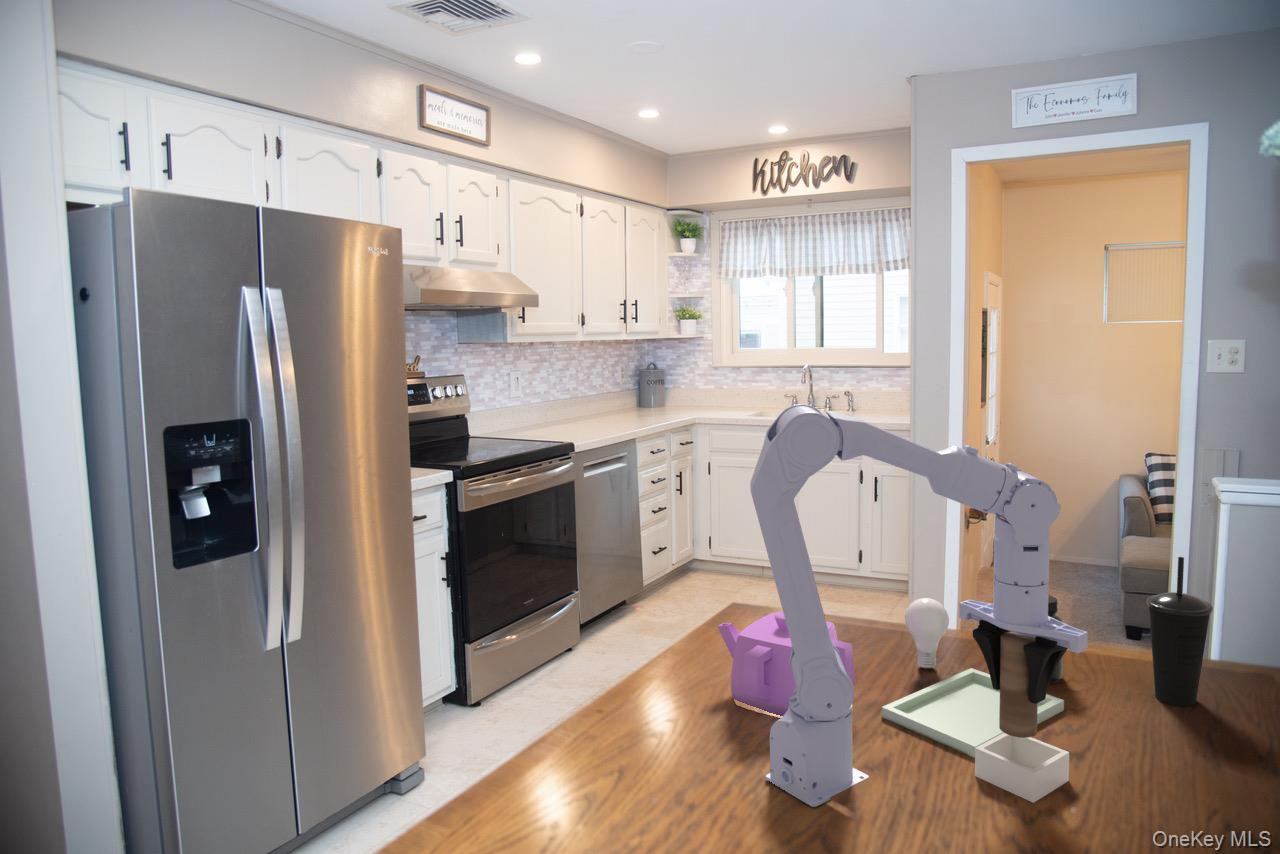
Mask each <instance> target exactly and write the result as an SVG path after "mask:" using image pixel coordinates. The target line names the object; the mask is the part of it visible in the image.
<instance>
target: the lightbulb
mask: <svg viewBox="0 0 1280 854" xmlns="http://www.w3.org/2000/svg"><path fill="white" fill-rule="evenodd" d="M904 613H905V614H904V623H905V625H906V628H907V630H908V632H909V633H910V634H911V636H912V638H913V639H914V640H913V641H914V645H915V647H916V649H917V651H916V652H917V655H916V656H917V662H916V664H917V665H918V666H919V667H920V668H922V669H924V670H930V669H933V668H935V667H936V666H937V665H936V664H937V663H936V662H937V660H936V656H937V655H936V654H937V649H938V648H939V642H940V640H941V639H942V637H944V635H945V634H946V632H947V630H948V628H949V624H950V617H949V613H948V611H947V609H946V608H945V606H944V605H943V604H942V603H941V602H940V601H938V600H937V599H934V598H930V597H922V598H921V597H920V598H917V599H915V600H913V601H912V602H910V604H909V605H908V606H907V608H906V610H905V612H904Z"/></svg>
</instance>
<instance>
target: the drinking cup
mask: <svg viewBox="0 0 1280 854" xmlns="http://www.w3.org/2000/svg"><path fill="white" fill-rule="evenodd" d="M1184 569H1185V557H1183V556H1178V557H1177V576H1176V577H1177V578H1176V579H1177V580H1176V582H1177V583H1176V591H1171V592H1170V591H1168V592H1163V593H1160V594H1159V593H1158V594H1155V595H1154V594H1153V595H1151V596H1148V597H1147V598H1146V605H1147V606H1148V609H1149V613H1148V614H1149V627H1150V640H1151V653H1152V655H1151V657H1152V668H1153V681H1154V682H1153V683H1154V686H1153V687H1154V695H1155V698H1156V699H1158V700H1159V701H1160V702H1162V703H1166V704H1169V705H1172V706H1179V707H1191V706H1194V705H1196V703H1197V697H1198V692H1199V686H1200V680H1201V679H1200V678H1201V673H1202V667H1203V660H1204V654H1205V653H1204V652H1205V648H1206V647H1205V646H1206V642H1207V641H1206V640H1207V635H1208V627H1209V622H1210V615H1211V614H1212V613H1213V611H1214V607H1213V605H1212V604H1211V603H1209V602H1208V601H1205V600H1203V599H1201V598H1199V597H1197V596H1195V595H1192V594H1189V593H1186V592H1185V593H1184V592H1183V591H1184Z"/></svg>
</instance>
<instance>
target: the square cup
mask: <svg viewBox="0 0 1280 854" xmlns="http://www.w3.org/2000/svg"><path fill="white" fill-rule="evenodd" d="M1069 773H1070V752H1069V751H1067V750H1065V749H1061V748H1060V747H1057V746H1054V745H1052V744H1049V743H1047V742H1044V741H1042V740H1039V739H1037V738H1034V737H1028V738H1020V737H1014V736H1011V735H1008V734H1006V733H1003V734H1001V735H999V736H997V737H995V738H993V739H991V740H989V741H988V742H986V743H984V744H982V745H980V746H978V747H976V748H975V758H974V777H976V778H978V779H980V780H983V781H985V782H987V783H989V784H992V785H994V786H995V787H998V788H1000V789H1003V790H1004V791H1007V792H1010V793H1011V794H1013V795H1016V796H1018V797H1019V798H1022V799H1025V800H1026V801H1029V802H1031V803H1033V804H1034V803H1036V802H1037V801H1039V800H1040V799H1042V798H1044V797H1045V796H1047V795H1049V794H1050V793H1052V792H1053V791H1055V790H1056V789H1058V788H1060V787H1061V786H1063V785H1064V784H1067V783H1068V782H1069V776H1070V774H1069Z"/></svg>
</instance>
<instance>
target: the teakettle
mask: <svg viewBox="0 0 1280 854" xmlns="http://www.w3.org/2000/svg"><path fill="white" fill-rule="evenodd" d="M824 616H826V614H824ZM826 623H827V627H828V631H829V634H830V637H831V640H832V644H833V645H834V646H835V647H836V648H837V649H838V651H839V653H840V655H841V659H842V663H843V666H844V668H845V671H846V673H847V676H848V677H849V678H850V679H851V682H852V684H853V685H854V683H855V682H856V672H855V665H854V664H855V663H854V654H853V645H852V643H850V642H845V641H841V640H838V635H837V631H836V626H835V624H834V623H833V622H832V621H827V620H826ZM717 629H718V631H719V633H720V635H721V637H722V639H723V642H724V643H725V646H726V648H727V650H728V651H729V654H730V655H731V658H732V665H731V673H730V674H731V675H730V691H731V695H732V699H733V698H734V699H735V700H737V701H739V702H742V703H745V704H747V705H750V706H753V707H756V708H759V709H762V710H764V711H767V712H769V713H773V714H776V715H780V716H784V714H785V713H786V712H787V710H788V708H789V699H790V697H792V694H793V692H794V690H795V688H796V685H795V681H794V677H793V675H792V673H791V670H790V664H789V662H790V656H791V652H792V644H791V639H790V636H789V632H788V628H787V624H786V620H785V617H784V613H783V611H782V612H780V611H775V612H771V613H769V614H768V615H767V614H766V615H764V616H763V617H760V618H759V619H757V620H755V621H754V622H752V623H750V624H749V625H748V626H746V627H745V628H743V629H742V630H741V631H739V630H738V629H737V628H736V627H735V626H734V624H733V623H732V622H723V623H720V624H718V625H717Z"/></svg>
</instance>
